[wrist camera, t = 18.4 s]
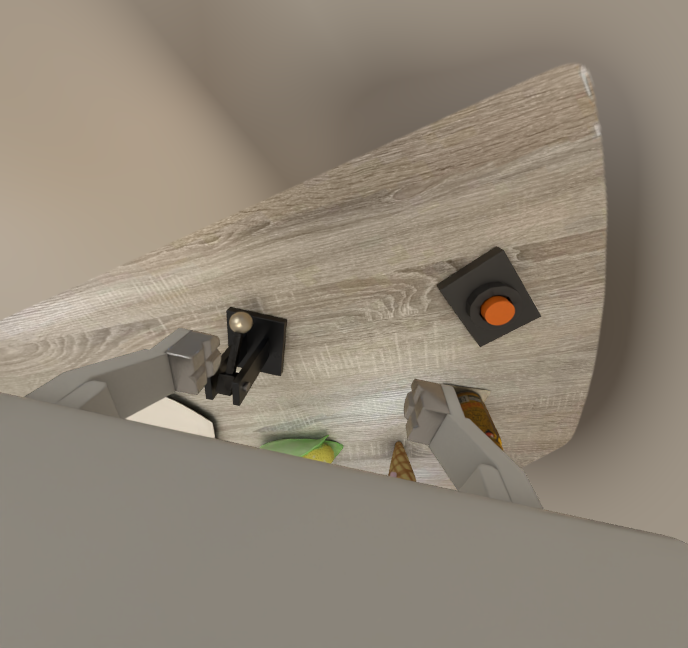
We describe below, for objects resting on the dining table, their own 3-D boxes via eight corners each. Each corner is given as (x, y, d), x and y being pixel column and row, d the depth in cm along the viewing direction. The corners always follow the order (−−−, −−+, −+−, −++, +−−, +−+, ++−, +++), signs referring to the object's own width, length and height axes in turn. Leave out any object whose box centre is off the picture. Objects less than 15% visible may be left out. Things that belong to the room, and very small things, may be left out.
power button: (475, 305, 35) (480, 311, 34) (501, 290, 34) (507, 295, 32) (487, 323, 36) (492, 330, 35) (513, 310, 35) (520, 316, 33)
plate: (229, 413, 58) (224, 420, 56) (208, 470, 71) (204, 477, 69) (109, 366, 54) (100, 372, 53) (111, 435, 68) (104, 441, 66)
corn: (244, 447, 55) (333, 441, 52) (263, 434, 63) (341, 428, 60) (247, 487, 54) (338, 484, 51) (266, 469, 62) (345, 465, 59)
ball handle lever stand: (230, 306, 44) (181, 350, 33) (287, 319, 44) (257, 366, 33) (232, 360, 50) (192, 412, 39) (282, 371, 50) (256, 426, 39)
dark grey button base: (436, 284, 38) (442, 295, 35) (496, 246, 34) (509, 253, 31) (475, 339, 42) (484, 354, 38) (533, 309, 38) (548, 322, 35)
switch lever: (237, 310, 39) (227, 309, 36) (258, 314, 39) (250, 313, 36) (221, 387, 39) (209, 392, 36) (241, 391, 39) (232, 397, 36)
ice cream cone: (377, 443, 57) (377, 520, 44) (394, 428, 54) (399, 506, 42) (401, 455, 59) (408, 533, 46) (418, 441, 56) (431, 521, 43)
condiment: (475, 417, 50) (501, 479, 40) (432, 410, 51) (447, 469, 40) (490, 390, 47) (522, 450, 36) (443, 382, 47) (462, 440, 37)
